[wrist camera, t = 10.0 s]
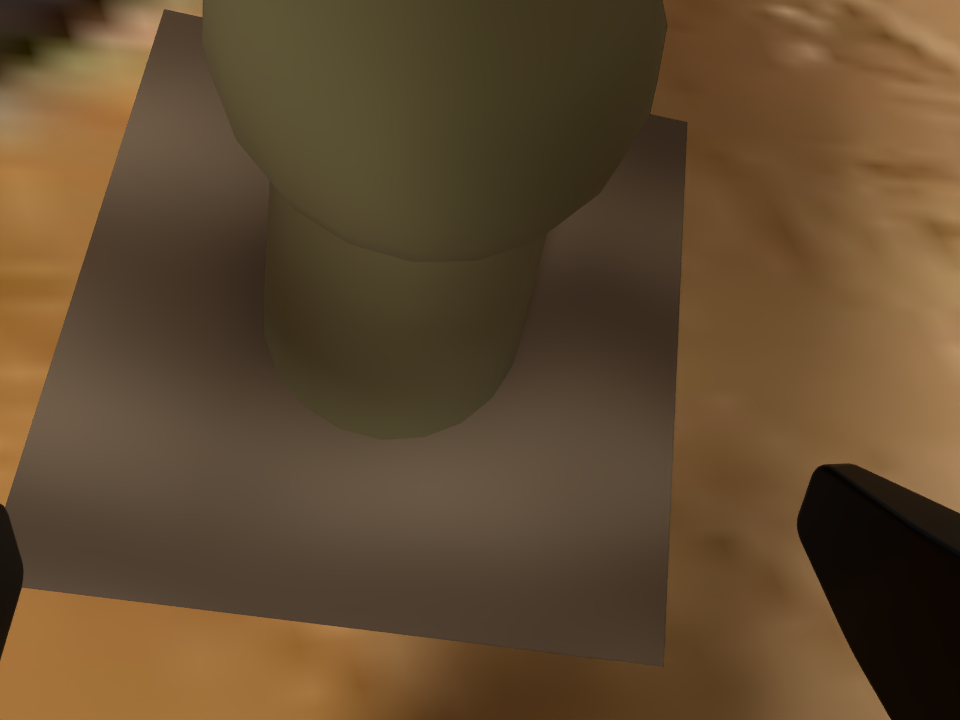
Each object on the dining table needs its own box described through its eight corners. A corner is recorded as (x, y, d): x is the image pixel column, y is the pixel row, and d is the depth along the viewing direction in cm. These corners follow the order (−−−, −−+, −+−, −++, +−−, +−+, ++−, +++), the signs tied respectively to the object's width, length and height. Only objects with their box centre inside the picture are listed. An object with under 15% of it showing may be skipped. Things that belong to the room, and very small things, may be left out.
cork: (385, 153, 19) (427, -397, 8) (569, 308, 18) (861, -61, 8) (204, 318, 17) (-45, -129, 6) (406, 496, 16) (502, 338, 6)
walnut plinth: (604, 650, 20) (663, 666, 16) (58, 582, 18) (-19, 582, 14) (634, 194, 24) (687, 122, 20) (196, 106, 22) (164, 9, 19)
